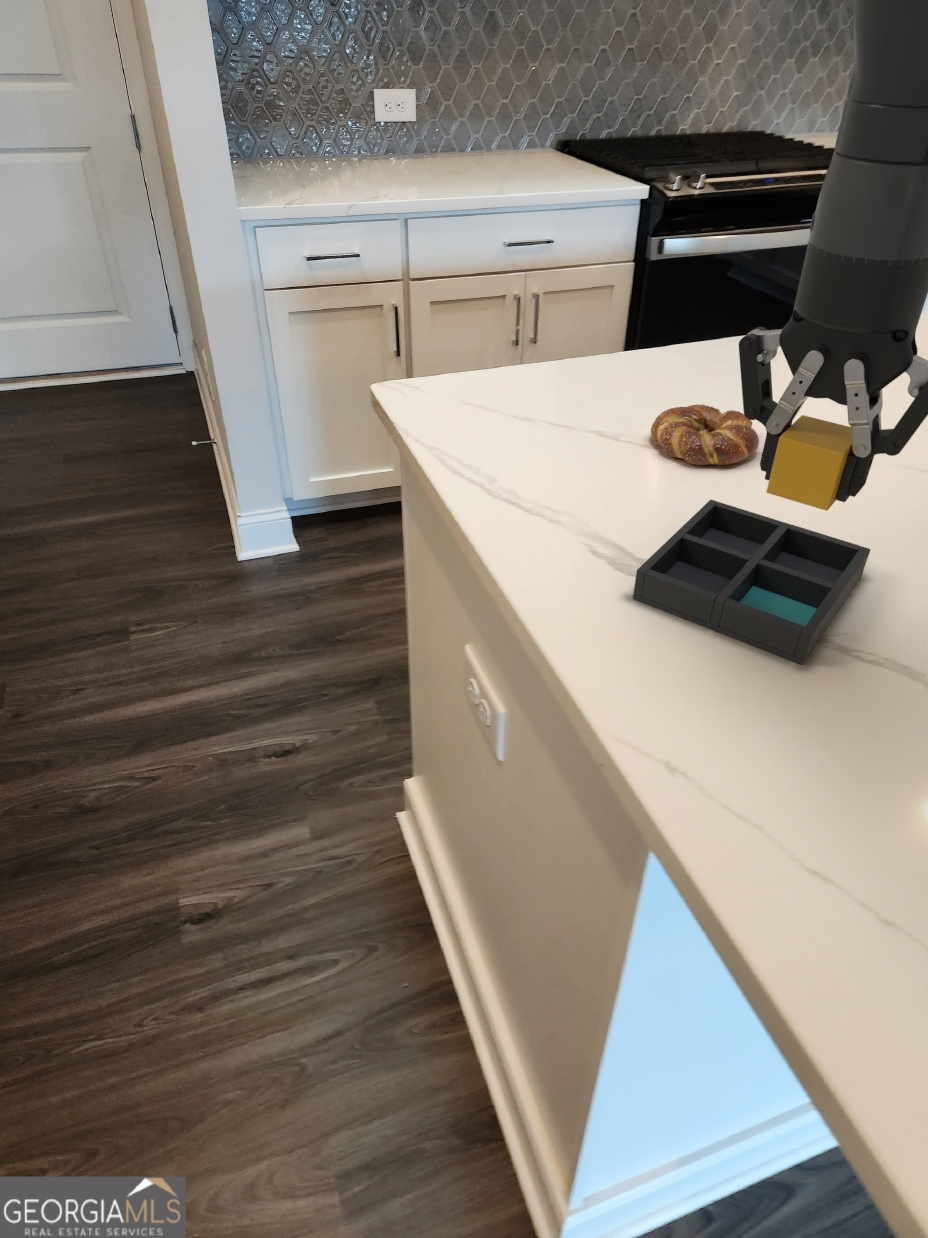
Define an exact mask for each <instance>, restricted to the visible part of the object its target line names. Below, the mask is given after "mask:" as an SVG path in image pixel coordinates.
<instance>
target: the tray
mask: <svg viewBox="0 0 928 1238" xmlns="http://www.w3.org/2000/svg"><path fill="white" fill-rule="evenodd" d="M870 553H871V548H869V547H866V546H862V545H859V544H856V543H853V542H849V541H846V540H843V539H839V538H837V537H833V536H830V535H827V534H824V533H821V532H817V531H814V530H811V529H809V528H808V529H807V528H805V527H801V526H798V525H794V524H791V523H789V522H785V521H781V520H778V519H775V518H772V517H768V516H765V515H762V514H760V513H755V512H752V511H749V510H746V509H743V508H739V507H736V506H733V505H730V504H727V503H723V502H720V501H718V500H714V499H709V500H708V501H707V502H706V503H705V504H704V505H703V506H702V507H701V508H700V509H699V510H698V511H696V513H695V514H693V516H691V518H689V520H687V521H686V522H685V523H684V524H683V525H682V526H681V527H680V528H679V529H678V530H677V531H676V532H675V533H674V534H673V535H672V536H670V537H669V539H667V540H666V542H665V543H663V544H662V545H661V546H660V547H659V548H658V549H657V550H656V551H655V552H654V553H652V554H651V556H649V558H648V559H647V560H646V561H644V563H642V564H641V565H640V566H639V567H638V568H637V569H636V571H635V581H634V587H633V595H632V599H634V600H636V601H639V602H641V603H644V604H647V605H649V606H652V607H654V608H656V609H659V610H661V611H664V612H667V613H669V614H672V615H674V616H677V617H680V618H682V619H684V620H687V621H689V622H692V623H695V624H697V625H700V626H702V627H705V628H708V629H710V630H713V631H715V632H717V633H720V634H722V635H725V636H727V637H731V638H733V639H736V640H738V641H740V642H743V643H745V644H747V645H750V646H754V647H756V648H759V649H761V650H763V651H766V652H768V653H771V654H773V655H776V656H779V657H782V658H784V659H787V660H789V661H791V662H794V663H796V664H799V665H802V666H803V665H804V664H805V662H806V661H807V659H808V658H809V656H810V655H811V653H812V651H813V650H814V649H815V647H816V646H817V644H818V643H819V641H820V640H821V638H822V636H824V633H825V632H826V631H827V630H828V628H829V627H830V625H831V623H832V621H833V620H834V619H835V617H836V616H837V614H838V613H839V611H840V610H841V608H842V607H843V605H844V604H845V602H846V601H847V599H848V598H849V596H851V593H852V592H853V590H854V589H855V587H856V586H857V584H858V583H859V581H860V580H861V578H862V576H863V573H864V571H865V567H866V565H867V562H868V558H869V555H870Z"/></svg>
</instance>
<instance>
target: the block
mask: <svg viewBox="0 0 928 1238" xmlns="http://www.w3.org/2000/svg"><path fill="white" fill-rule="evenodd" d="M851 451H852V437H851V426H850V425H844V424H840V423H836V422H833V421H829V420H824V419H821V418H817V417H816V418H815V417H812V416H808V415H804V414H802V415H800V417H798V418H797V419H796V420H794V422H792V425H791V426H790V427H789V428H788V429H787V430H786V431H785V432H784V433H783V434H782V435H781V436H780V437H779V441H778V446H777V450H776V454H775V458H774V462H773V466H772V471H771V475H770V479H769V480H768V484H767V488H766V493H767V494H770V495H773V496H776V497H779V498H781V499H782V498H783V499H786V500H789V501H793V502H796V503H799V504H803V505H806V506H810V507H813V508H816V509H819V510H823V511H825V512H828V511H829V510H830V509H831V508H832V506H833V505H834V504H835V503H836V501H837V500H835V496H836V493H837V490H838V486H839V483H840V480H841V476H842V473H843V470H844V466H845V463H846V460H847V456H848V454H849V453H850V452H851Z"/></svg>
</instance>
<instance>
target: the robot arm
mask: <svg viewBox="0 0 928 1238" xmlns="http://www.w3.org/2000/svg"><path fill="white" fill-rule="evenodd" d="M852 11H853V12H852V14H853V15H852V35H853V36H852V37H853V39H852V40H853V69H852V74H851V78H850V81H849V86H848V89H847V93H846V98H845V102H844V104H843V105H844V106H843V110H842V114H841V119H840V122H839V127H838V132H837V136H836V141H835V145H834V151H833V153H832V157H831V160H830V163H829V166H828V170H827V172H826V174H825V177H824V180H823V183H822V186H821V189H820V191H819V196H818V199H817V202H816V203H817V204H816V208H815V211H814V212H813V214H812V218H811V222H810V227H809V231H810V233H809V238H808V243H807V247H806V251H805V256H804V261H803V266H802V268H801V274H800V277H799V282H798V286H797V292H796V296H795V299H794V304H793V310H792V314H791V317H790V319H789V320H788V321H787V323H786V324H785V325H784V326H783V328H781V329H770V330H769V329H767V328H766V327H764V326H758V327H756V328H754V329H752V330H750V331H749V332H748V333H747V334H745V335H744V336H743V337H741V339H740V340H739V342H738V355H739V356H738V357H739V369H740V379H741V380H740V381H741V394H742V395H741V396H742V407H743V414H744V415H745V417H746V418H747V419H749V420H751V421H755V420H756V421H758V422H759V423H760V424H761V425H763V426H764V428H765V430H766V436H765V440H764V443H763V448H762V449H763V450H762V452H761V457H760V462H759V467H760V471H762V472H764V473H765V474H764V480H765V481H766V480H767V481H769V479H770V475H771V471H772V466H773V462H774V458H775V454H776V450H777V446H778V441H779V437H780V436H781V435H782V434H783V433H784V432H785V431H786V430H787V429H788V428H789V427H790V426H791V425H792V424H793V420H794V419H795V418H796V416H797V415H798V414H799V412H800V410H801V408H802V407H803V405H804V404H805V402H806V401H807V400H808V399H809V398H812V399H829V400H830V401H833V402H835V403H837V404H838V405H843V406H846V407H847V422H848V426H849V427H851V437H852V451H851V452H850V453H849V454H848V456H847V460H846V463H845V466H844V470H843V473H842V476H841V480H840V483H839V486H838V490H837V493H836V496H835V500H836V501H839V502H842V503H846V502H847V500H848V499H849V498H850V497H853V498H855V497H856V496H857V495H858V494H859V493H860V491H861V490H862V489H863V487H865V485H866V484H867V480H868V477H869V474H870V471H871V468H872V464H873V461H874V458H875V456H876V455H882V454H885V455H887V456H891V457H894V456H897V455H899V454H900V453H901V452H902V451H903V449H904V448H905V447H906V445H907V444H908V442H909V441H910V440H911V438H912V437H913V436H914V434H915V433H916V432H917V431H918V429H919V428H920V426H921V425H922V423H923V422H924V421H925V420H926V418H927V417H928V360H927V359H926V358H924V357H922V356H920V355H918V345H917V342H916V334H917V333H916V332H917V328H918V325H919V322H920V319H921V316H922V313H923V309H924V306H925V303H926V300H927V297H928V0H853V10H852ZM779 348H781V352H782V354H783V356H784V358H785V360H786V363H787V365H788V367H789V369H790V372H791V375H792V379H791V380H790V382H789V384H788V385H787V387H786V388H785V390H784V392H783V394H782V395H781V396H780V398H779V400H778V402H777V401H775V400H774V399H773V398H774V396H773V383H772V381H773V380H772V363H771V362H772V360H773V359H775V358H776V356H777V353H778V349H779ZM904 373H905V374H907V375H908V377H909V384H908V386H907V393H908V395H909V396H910V397H912V398H914V399H913V400H912V402H911V403H910V404H909V406H908V408H907V409H906V411H905V412H904V413H903V415H902V416H901V417H900V419H899V420H898V421H897V423H896V425H895V426H894V427H893V428H885V429H883V428H882V410H883V405H884V403H883V401H884V400H883V389H884V388H886V387H887V386H888V385H890V384H891V383H893V381H895V380H896V379H898V378H899V377H900V376H901V375H903V374H904Z"/></svg>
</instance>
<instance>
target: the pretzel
mask: <svg viewBox="0 0 928 1238" xmlns="http://www.w3.org/2000/svg"><path fill="white" fill-rule="evenodd" d="M752 427H753V420H749V419H747V418H746V417H745V415H744V413H743V412H740V411H737V410H733V409H732V410H731V409H730V410H726V411H725V412H723V413H722V412H721V411H720V409H719V408H716V407H714V406H710V405H706V404H691V405H687V406H676V407H671V408H667V409H665V410H664V411H662V412H661V413H659V415H657V417H656V418H655V420H654V421H653V423H652V425H651V428H650V435H651V439H652V441H653V442H654V444H655V445H657V446H659V447H660V448H662V451H663V452H664V453H665V454H666V455H668V456H670V457H672V458H677V459H683V461H685V462H686V463H688V464H691V465H697V466H706V465H717V466H724V465H732V464H736V463H739V462H741V461H743V460H744V459H745V460H746V459H748V458H749V457H751V456H752V455H753V454H754V453H755V452H756V451H757V450H758V448H759V444H760V438H759V436H758V435H759V434H758V433H757V431H756V430H755V429H754V428H752Z"/></svg>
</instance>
